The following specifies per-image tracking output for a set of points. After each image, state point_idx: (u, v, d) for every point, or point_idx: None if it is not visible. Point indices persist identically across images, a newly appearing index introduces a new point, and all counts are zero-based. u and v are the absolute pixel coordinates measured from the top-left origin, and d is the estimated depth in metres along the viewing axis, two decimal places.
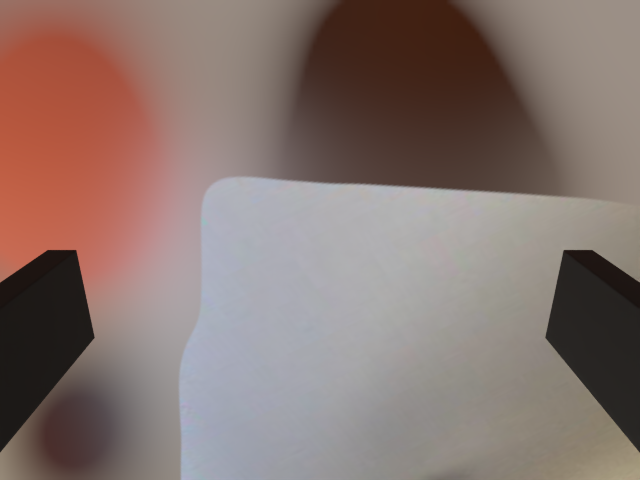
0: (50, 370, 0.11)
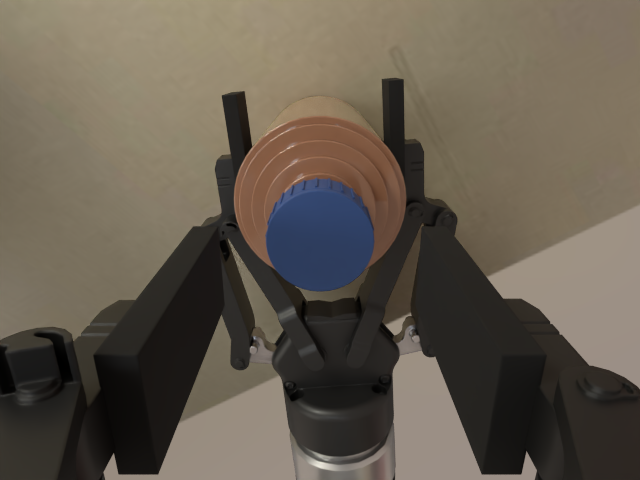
0: (208, 327, 0.13)
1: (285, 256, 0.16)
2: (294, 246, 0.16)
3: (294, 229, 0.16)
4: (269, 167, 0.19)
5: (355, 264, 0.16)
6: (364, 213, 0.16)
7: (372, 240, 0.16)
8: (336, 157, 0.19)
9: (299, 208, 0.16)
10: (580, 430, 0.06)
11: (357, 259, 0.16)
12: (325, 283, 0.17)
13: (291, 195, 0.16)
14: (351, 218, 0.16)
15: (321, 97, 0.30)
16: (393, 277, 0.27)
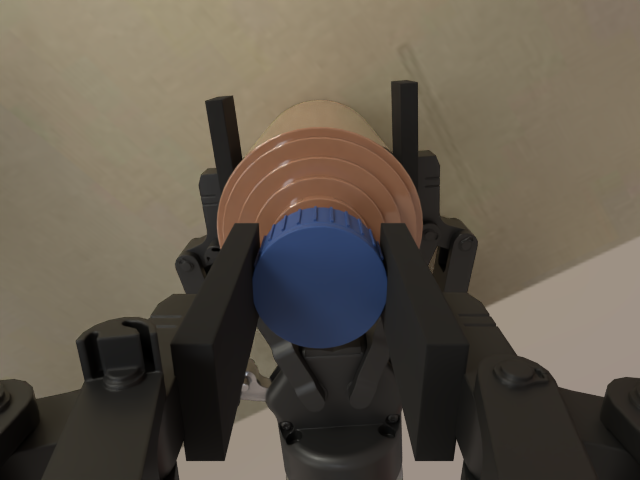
0: (253, 321, 0.13)
1: (276, 306, 0.13)
2: (287, 294, 0.13)
3: (287, 273, 0.13)
4: (258, 189, 0.16)
5: (364, 316, 0.13)
6: (376, 254, 0.12)
7: (386, 287, 0.13)
8: (339, 177, 0.16)
9: (293, 248, 0.12)
10: (495, 418, 0.06)
11: (366, 310, 0.13)
12: (326, 339, 0.13)
13: (283, 231, 0.13)
14: (359, 260, 0.12)
15: (321, 101, 0.26)
16: None
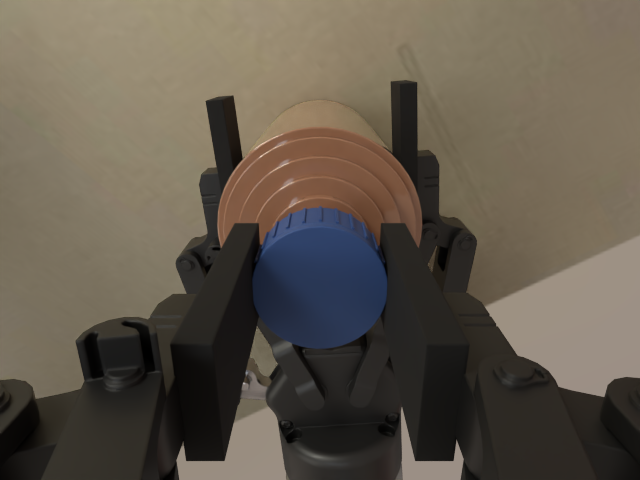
0: (253, 321, 0.13)
1: (348, 323, 0.13)
2: (332, 317, 0.13)
3: (311, 322, 0.13)
4: (258, 189, 0.16)
5: (335, 243, 0.12)
6: (264, 252, 0.12)
7: (296, 232, 0.12)
8: (339, 177, 0.16)
9: (283, 323, 0.13)
10: (495, 418, 0.06)
11: (327, 242, 0.12)
12: (372, 270, 0.13)
13: (276, 327, 0.14)
14: (275, 265, 0.12)
15: (321, 101, 0.26)
16: None
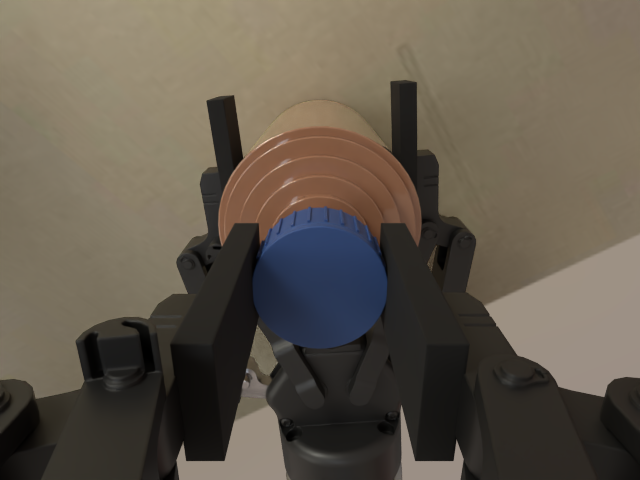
0: (253, 321, 0.13)
1: (348, 255, 0.12)
2: (345, 271, 0.13)
3: (356, 289, 0.13)
4: (259, 188, 0.16)
5: (265, 291, 0.13)
6: (296, 344, 0.13)
7: (267, 324, 0.13)
8: (339, 176, 0.16)
9: (364, 312, 0.13)
10: (495, 418, 0.06)
11: (267, 297, 0.13)
12: (281, 250, 0.12)
13: (378, 310, 0.13)
14: (305, 333, 0.13)
15: (321, 101, 0.26)
16: None
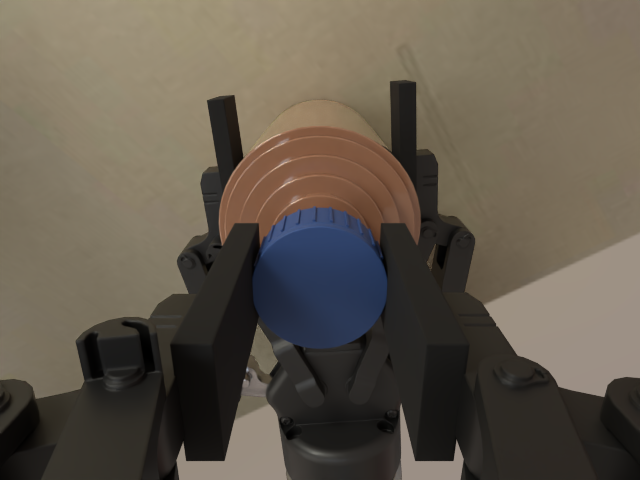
0: (253, 321, 0.13)
1: (274, 277, 0.13)
2: (292, 274, 0.13)
3: (307, 259, 0.12)
4: (259, 187, 0.16)
5: (334, 335, 0.13)
6: None
7: (370, 325, 0.13)
8: (339, 175, 0.16)
9: (331, 243, 0.12)
10: (495, 418, 0.06)
11: (340, 332, 0.13)
12: (289, 331, 0.13)
13: (331, 223, 0.12)
14: (370, 291, 0.13)
15: (321, 101, 0.27)
16: None
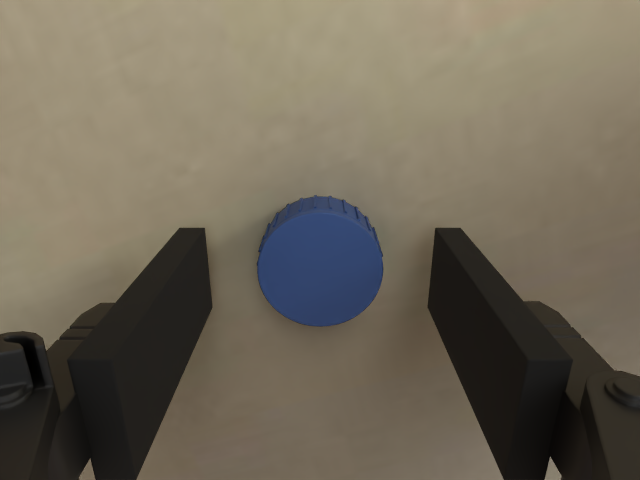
0: (194, 330, 0.12)
1: (278, 259, 0.14)
2: (294, 257, 0.14)
3: (308, 243, 0.14)
4: None
5: (333, 314, 0.14)
6: (381, 277, 0.14)
7: (366, 305, 0.14)
8: None
9: (330, 228, 0.13)
10: (609, 436, 0.06)
11: (339, 311, 0.14)
12: (292, 310, 0.14)
13: (331, 209, 0.14)
14: (367, 273, 0.14)
15: None
16: None
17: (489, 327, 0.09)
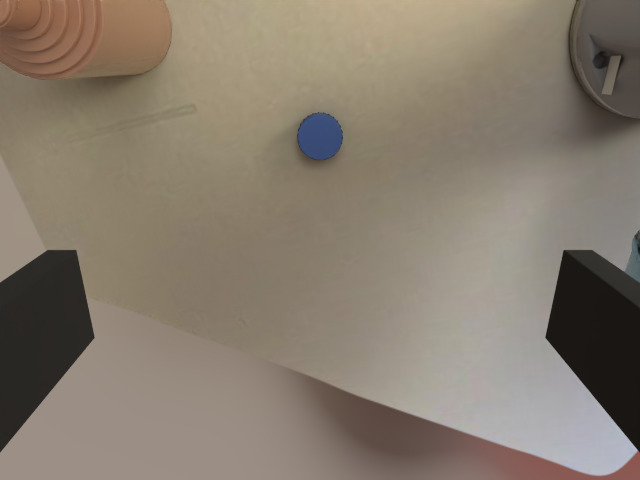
0: (50, 370, 0.11)
1: (305, 132, 0.39)
2: (311, 131, 0.39)
3: (316, 126, 0.39)
4: None
5: (325, 154, 0.40)
6: (341, 139, 0.39)
7: (336, 151, 0.40)
8: (65, 31, 0.25)
9: (323, 120, 0.39)
10: None
11: (327, 153, 0.40)
12: (309, 153, 0.40)
13: (323, 114, 0.39)
14: (336, 138, 0.39)
15: (164, 39, 0.37)
16: None
17: None
